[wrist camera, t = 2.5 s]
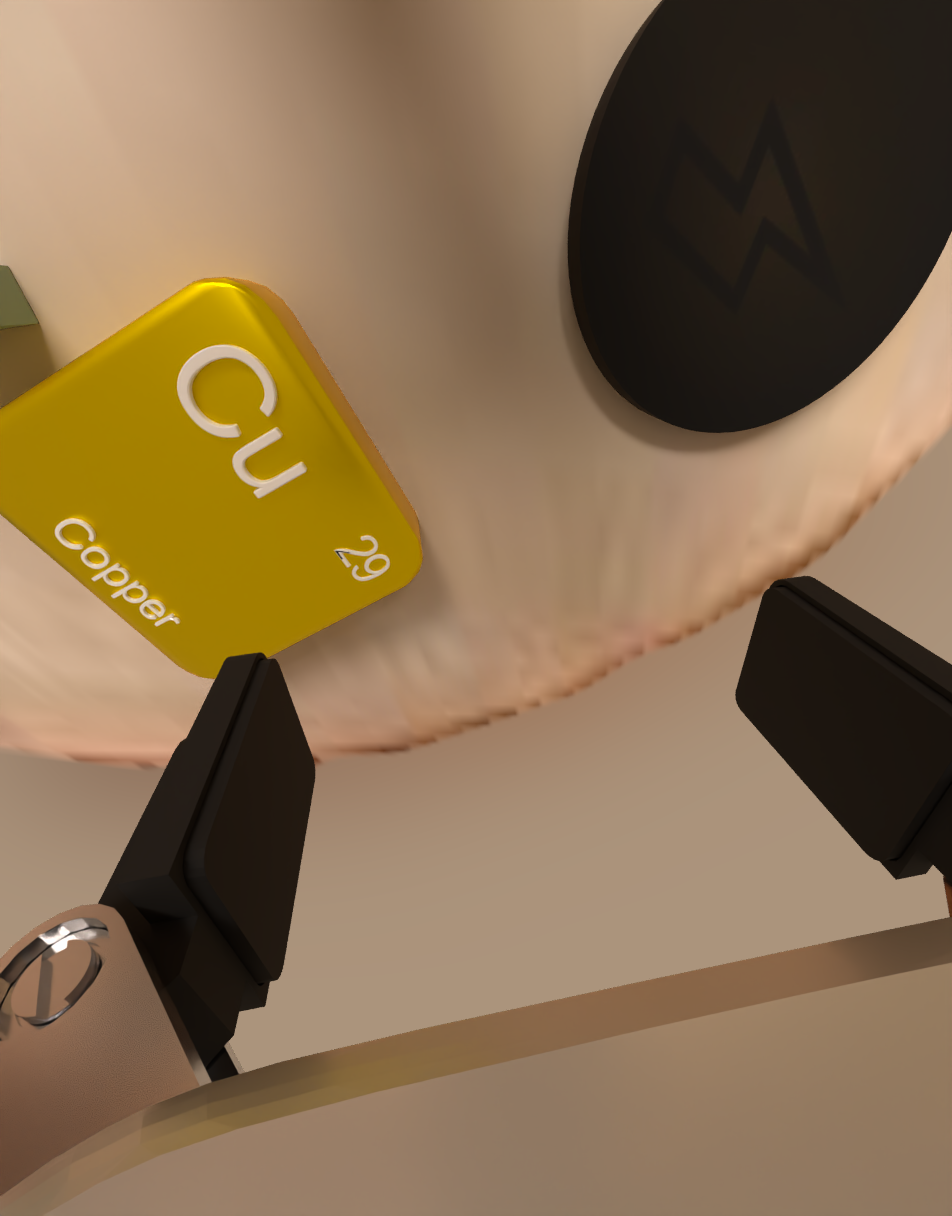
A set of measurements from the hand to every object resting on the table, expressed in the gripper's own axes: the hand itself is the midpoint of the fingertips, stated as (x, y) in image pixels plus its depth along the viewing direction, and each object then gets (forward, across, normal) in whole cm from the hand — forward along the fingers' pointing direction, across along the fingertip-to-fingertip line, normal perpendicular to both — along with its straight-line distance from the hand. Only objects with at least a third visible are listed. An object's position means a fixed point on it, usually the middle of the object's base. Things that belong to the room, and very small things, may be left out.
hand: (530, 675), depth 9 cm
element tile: (+20, +11, +1) cm, 23 cm away
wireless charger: (+20, -15, -8) cm, 26 cm away
